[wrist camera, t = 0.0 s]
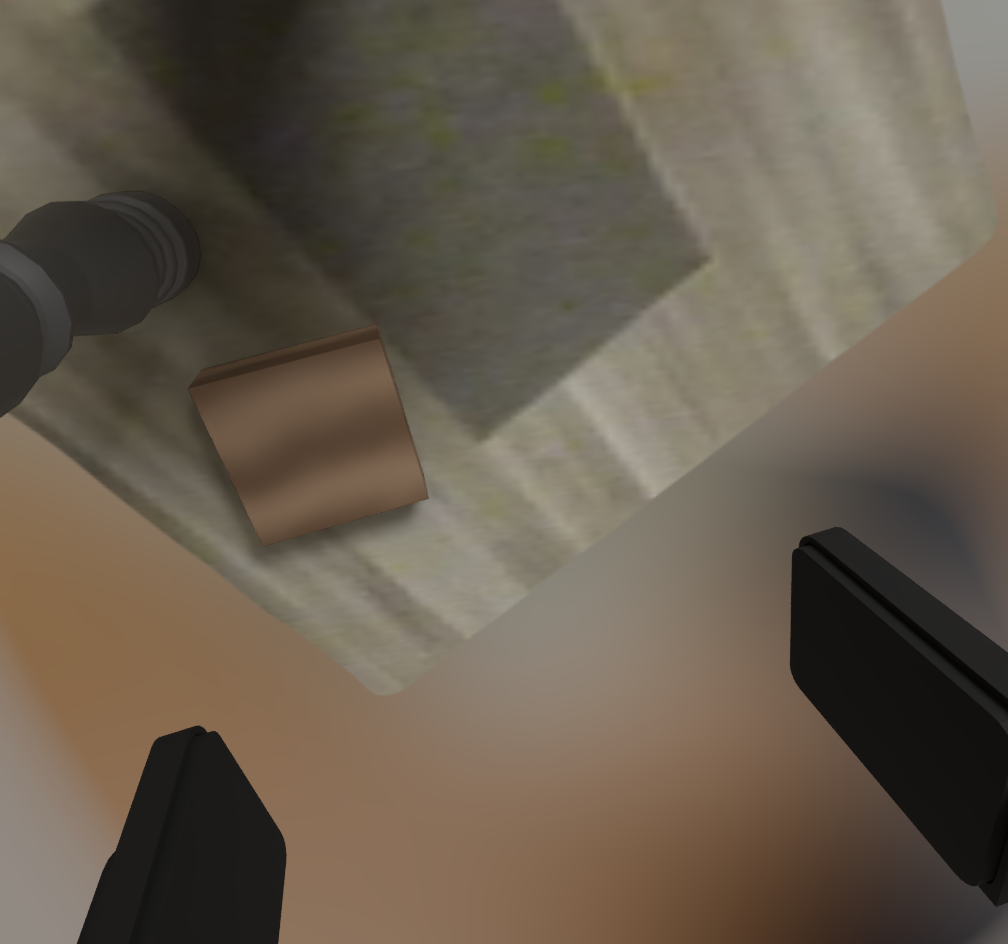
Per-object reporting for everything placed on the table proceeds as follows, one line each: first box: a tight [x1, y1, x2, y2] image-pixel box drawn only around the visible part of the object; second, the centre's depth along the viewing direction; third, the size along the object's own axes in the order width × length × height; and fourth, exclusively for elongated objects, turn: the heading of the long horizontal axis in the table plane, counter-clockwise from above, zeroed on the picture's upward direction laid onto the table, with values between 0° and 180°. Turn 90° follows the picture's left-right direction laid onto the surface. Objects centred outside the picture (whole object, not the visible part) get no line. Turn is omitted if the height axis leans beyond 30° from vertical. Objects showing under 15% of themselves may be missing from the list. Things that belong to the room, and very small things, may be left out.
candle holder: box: [0, 191, 201, 418], centre depth 27 cm, size 6×6×25 cm
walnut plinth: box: [188, 324, 429, 546], centre depth 44 cm, size 12×12×4 cm
